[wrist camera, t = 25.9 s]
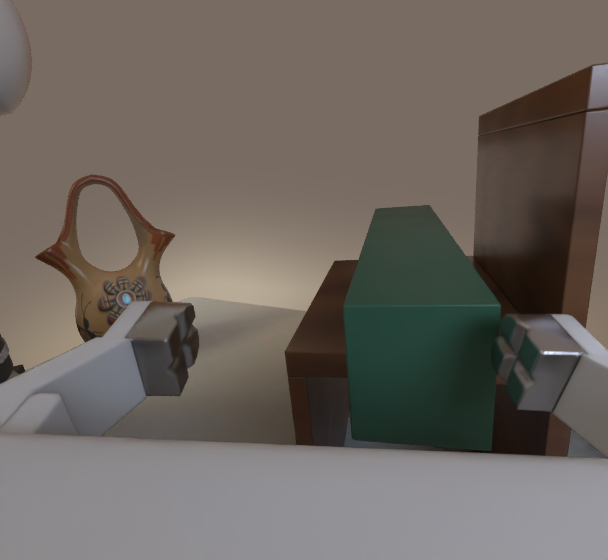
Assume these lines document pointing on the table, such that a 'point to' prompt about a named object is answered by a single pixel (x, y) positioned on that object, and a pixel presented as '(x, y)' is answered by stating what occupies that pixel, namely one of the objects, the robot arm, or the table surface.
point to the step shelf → (493, 253)
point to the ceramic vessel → (103, 284)
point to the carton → (419, 337)
